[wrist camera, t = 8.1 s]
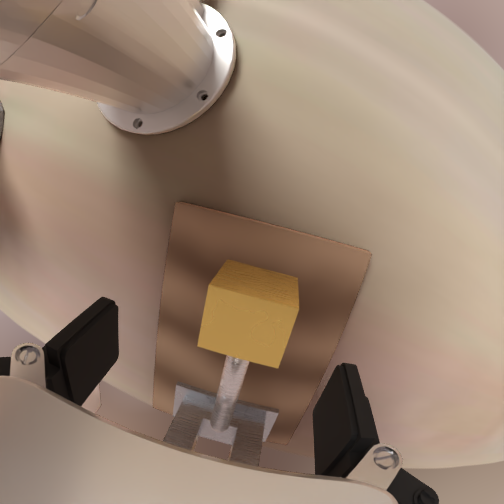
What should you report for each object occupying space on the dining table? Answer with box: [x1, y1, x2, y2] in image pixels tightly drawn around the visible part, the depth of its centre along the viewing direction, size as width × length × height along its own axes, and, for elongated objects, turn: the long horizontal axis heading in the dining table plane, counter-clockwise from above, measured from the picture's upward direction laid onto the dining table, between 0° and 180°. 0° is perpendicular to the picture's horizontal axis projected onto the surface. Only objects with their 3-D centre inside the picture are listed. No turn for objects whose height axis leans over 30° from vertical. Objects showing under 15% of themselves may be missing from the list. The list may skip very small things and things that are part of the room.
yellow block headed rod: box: [197, 259, 299, 432], centre depth 19 cm, size 14×5×5 cm, turn 167°
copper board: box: [153, 202, 372, 445], centre depth 24 cm, size 22×15×1 cm
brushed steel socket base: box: [163, 381, 279, 466], centre depth 22 cm, size 5×10×10 cm, turn 77°
